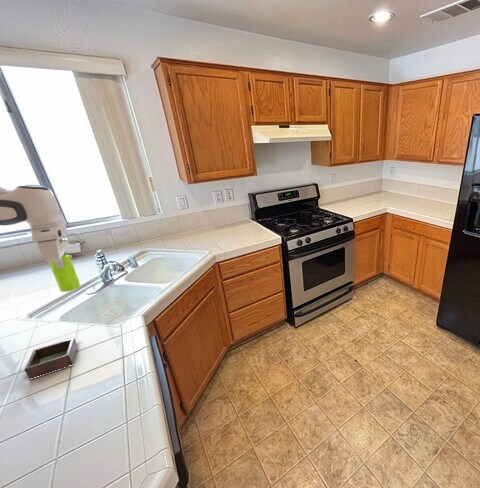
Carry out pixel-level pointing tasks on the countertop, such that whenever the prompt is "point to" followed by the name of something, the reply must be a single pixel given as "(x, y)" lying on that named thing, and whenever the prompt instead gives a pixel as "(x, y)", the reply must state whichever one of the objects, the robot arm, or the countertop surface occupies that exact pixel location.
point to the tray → (51, 358)
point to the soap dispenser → (65, 274)
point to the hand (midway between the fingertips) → (63, 264)
